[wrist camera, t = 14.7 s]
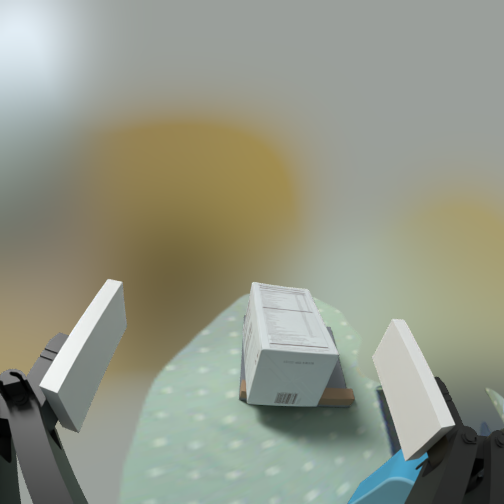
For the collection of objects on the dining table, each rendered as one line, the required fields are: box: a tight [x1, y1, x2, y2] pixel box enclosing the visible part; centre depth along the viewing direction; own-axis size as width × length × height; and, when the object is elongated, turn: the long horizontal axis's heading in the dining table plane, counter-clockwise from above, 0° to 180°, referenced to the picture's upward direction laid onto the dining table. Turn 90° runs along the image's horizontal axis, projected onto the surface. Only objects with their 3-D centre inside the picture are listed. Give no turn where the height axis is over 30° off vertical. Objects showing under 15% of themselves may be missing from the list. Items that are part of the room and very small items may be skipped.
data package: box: [348, 449, 428, 504], centre depth 20 cm, size 12×4×12 cm, turn 51°
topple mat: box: [239, 315, 355, 407], centre depth 46 cm, size 18×16×2 cm
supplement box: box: [243, 282, 339, 407], centre depth 41 cm, size 10×9×17 cm
